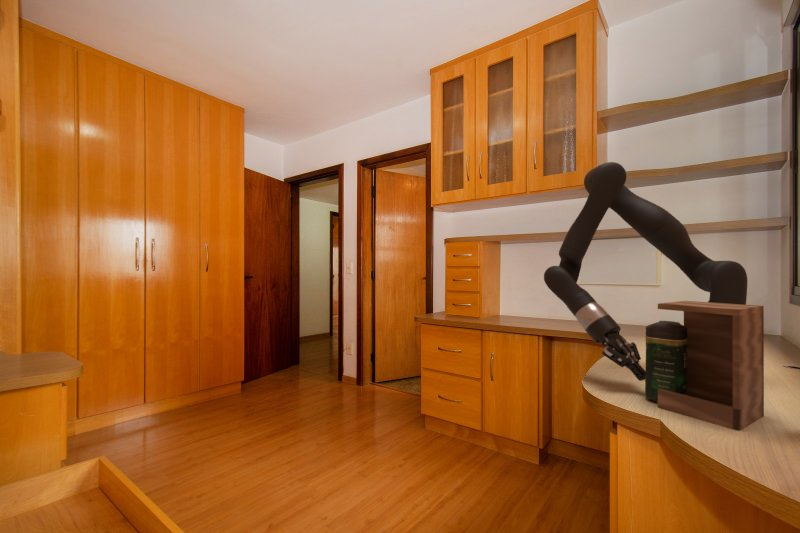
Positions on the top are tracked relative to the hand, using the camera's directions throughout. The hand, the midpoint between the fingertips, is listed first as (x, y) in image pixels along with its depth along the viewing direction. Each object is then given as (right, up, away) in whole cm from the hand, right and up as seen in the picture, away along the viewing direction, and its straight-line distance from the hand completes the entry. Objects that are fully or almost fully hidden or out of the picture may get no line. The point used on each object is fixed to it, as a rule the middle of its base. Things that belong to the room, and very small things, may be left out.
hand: (644, 378), depth 92 cm
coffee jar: (+3, -4, -4) cm, 6 cm away
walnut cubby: (+7, -4, -11) cm, 13 cm away
